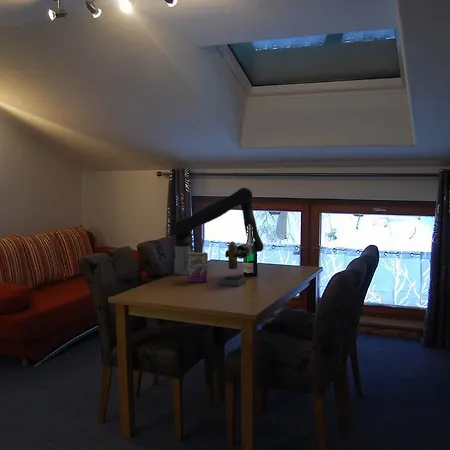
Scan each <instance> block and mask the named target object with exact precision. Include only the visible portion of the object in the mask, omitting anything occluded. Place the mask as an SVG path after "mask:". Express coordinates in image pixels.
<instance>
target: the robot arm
mask: <svg viewBox="0 0 450 450" xmlns="http://www.w3.org/2000/svg"><path fill="white" fill-rule="evenodd" d="M252 197H253V193H252V190H251V189H250V188H249V187H241V188H239V189H238V190H237V191H235V192H234V193H232V194H231V195H228V196H226V197H224V198H221V199H219V200H217V201H214V202H212V203H210V204H208V205H206V206H204V207H203V208H201V209H200V210H198V211H197V212H196V213H194V214H192V215H191V216H188V217H186V218H181V219H178V220H177V221H176V222H175V223H174V231H175V232H174V234H175V235H174V236H175V240H174V246H175V247H174V248H175V249H174V253H175V257H174V260H173V263H174V265H173V267H174V268H173V269H174V270H173V271H174V274H175V275H177V276H178V275H180V276H184V275H187V276H188V265H187V254H188V253H189V252H192V251H191V250H192V249H191V231H193V230H194V229H196V228H198V227H199V226H202V225H204V224H207V223H209V222H212V221H214V220H216V219H218V218H220V217H222V216H223V215H224V214H227V213H228V212H229V211H230V210H232V209H234V208H236V207H239V206H240V207H241V211H242V214H243V215H242V216H243V217H242V218H243V224H244V230H245V235H246V236H247V233H248V232H247V226H248V224H252V227H253V238H252V239H253V241H254V245H253V246H251V245H248V244H247V242H246V243H242V244H240V245H237V253H236V254H235V258H237V259H240V260H241V259H244V258H247V257H249V256H250V255H253V254H254V251H255V253H259V252H260V253H261V252H263V250H264V243H263V241H262V239H261V236H260V235H259V232H258V227H257V223H256V218H255V214H254V211H253V203H252V201H253V200H252ZM224 252H225V254H224V255H225V256H224V257H225V258H228V249H227V250H226V251H224Z"/></svg>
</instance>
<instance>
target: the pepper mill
mask: <svg viewBox="0 0 450 450" xmlns="http://www.w3.org/2000/svg"><path fill="white" fill-rule="evenodd" d="M237 246H238V244H236V243H235V241H231V242H229V244H228V245H227V250H228V257H227V258H228V270H238V258H235V254H236V253H237Z"/></svg>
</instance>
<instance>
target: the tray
mask: <svg viewBox="0 0 450 450" xmlns="http://www.w3.org/2000/svg"><path fill="white" fill-rule="evenodd" d="M246 280H247V278H246V277H244V276H243V277H242V276H233V275H231V276H230V275H227V276H225V277H222V278H220V279H219V285H220V286H229V287H241V286H243V285H244V284H246V282H247V281H246Z"/></svg>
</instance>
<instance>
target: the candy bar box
mask: <svg viewBox="0 0 450 450" xmlns="http://www.w3.org/2000/svg"><path fill="white" fill-rule="evenodd" d="M208 258H209V255H208V252H194V251H193V252H192V251H191V252H189V253H188V254H187V265H188V274H187V282H188V283H207V282H208V281H209V270H208V269H209V265H208V263H209V259H208Z"/></svg>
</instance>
